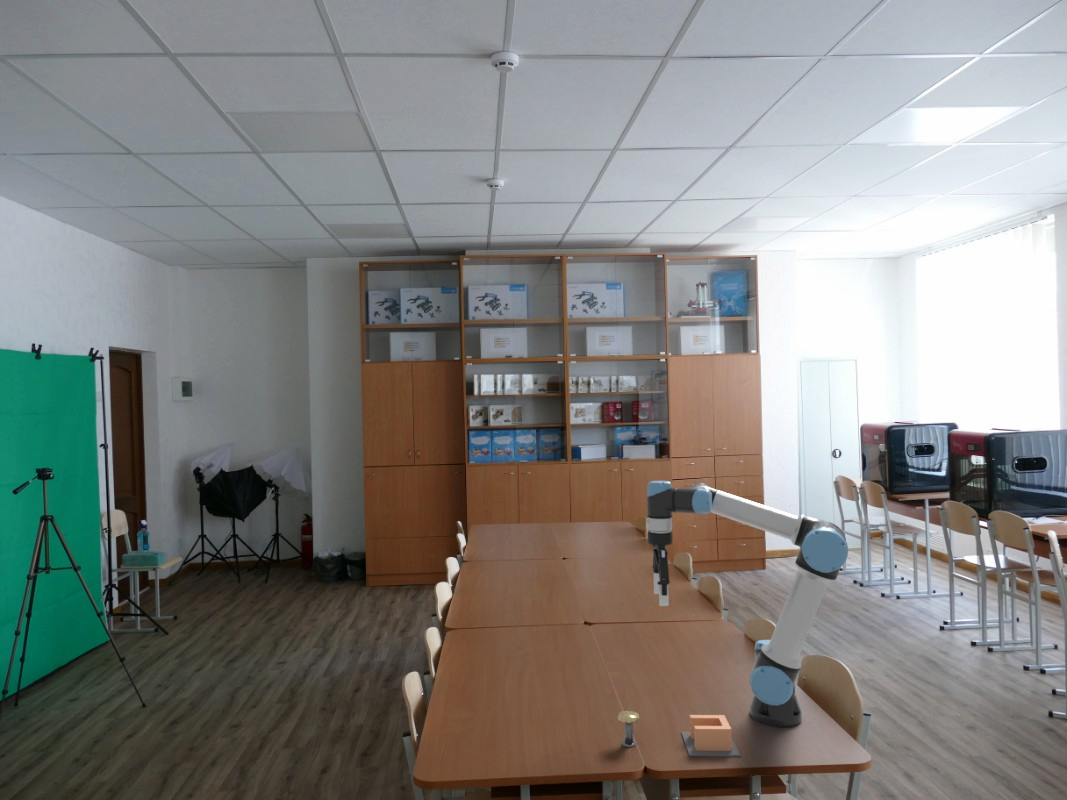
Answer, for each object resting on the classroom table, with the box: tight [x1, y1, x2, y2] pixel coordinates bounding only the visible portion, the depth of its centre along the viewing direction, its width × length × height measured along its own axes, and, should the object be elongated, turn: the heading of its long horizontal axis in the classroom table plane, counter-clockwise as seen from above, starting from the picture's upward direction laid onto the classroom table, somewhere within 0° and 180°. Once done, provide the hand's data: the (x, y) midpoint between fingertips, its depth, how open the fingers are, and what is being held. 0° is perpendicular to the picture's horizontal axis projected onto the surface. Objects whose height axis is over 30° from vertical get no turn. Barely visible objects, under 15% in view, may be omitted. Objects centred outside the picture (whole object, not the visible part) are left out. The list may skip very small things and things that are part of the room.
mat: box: [680, 731, 742, 758], centre depth 204 cm, size 14×14×1 cm
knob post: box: [617, 710, 640, 748], centre depth 205 cm, size 6×6×8 cm
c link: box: [689, 714, 733, 751], centre depth 204 cm, size 10×9×6 cm
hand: (661, 599), depth 221 cm, fingers open, 13 cm apart
